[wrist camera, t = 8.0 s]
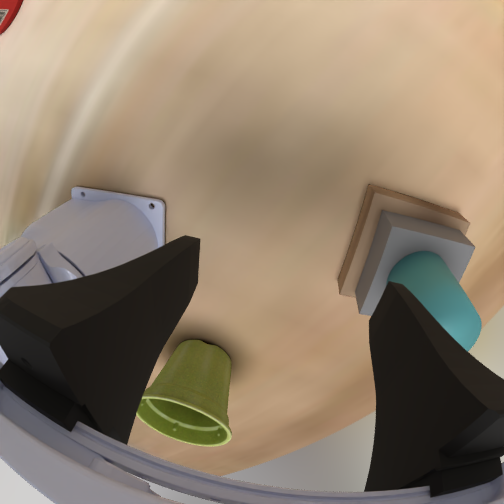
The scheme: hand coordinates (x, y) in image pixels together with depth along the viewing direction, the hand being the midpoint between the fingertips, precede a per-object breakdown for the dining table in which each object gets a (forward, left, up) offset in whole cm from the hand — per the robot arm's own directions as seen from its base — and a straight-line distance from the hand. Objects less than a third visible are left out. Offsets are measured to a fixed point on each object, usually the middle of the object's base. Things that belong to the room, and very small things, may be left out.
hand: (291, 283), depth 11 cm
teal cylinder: (+9, -2, -6) cm, 11 cm away
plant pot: (-5, -19, -11) cm, 23 cm away
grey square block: (+9, -2, -9) cm, 12 cm away
